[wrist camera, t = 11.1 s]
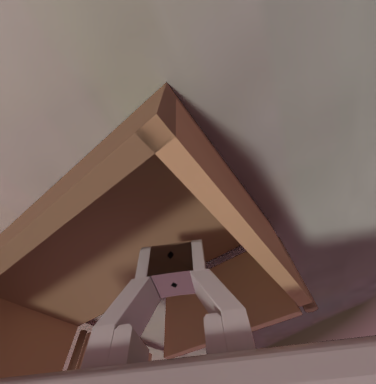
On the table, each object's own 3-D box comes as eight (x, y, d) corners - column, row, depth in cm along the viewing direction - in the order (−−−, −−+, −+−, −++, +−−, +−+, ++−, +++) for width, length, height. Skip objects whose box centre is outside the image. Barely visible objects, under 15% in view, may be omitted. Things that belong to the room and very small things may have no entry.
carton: (76, 321, 19) (49, 394, 15) (-46, 275, 14) (-134, 364, 10) (269, 222, 13) (313, 302, 9) (166, 82, 8) (156, 113, 4)
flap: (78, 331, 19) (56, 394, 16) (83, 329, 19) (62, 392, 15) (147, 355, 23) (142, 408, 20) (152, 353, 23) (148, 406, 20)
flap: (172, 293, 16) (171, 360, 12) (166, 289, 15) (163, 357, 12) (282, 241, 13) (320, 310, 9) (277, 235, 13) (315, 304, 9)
